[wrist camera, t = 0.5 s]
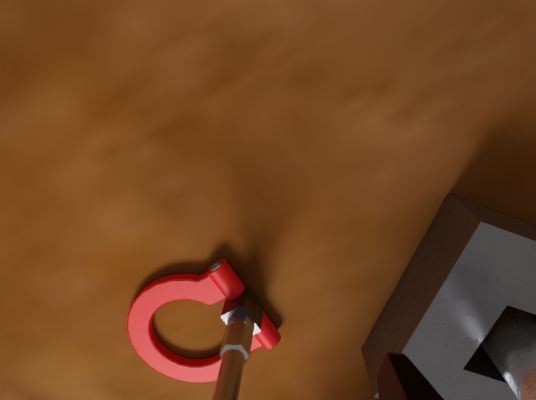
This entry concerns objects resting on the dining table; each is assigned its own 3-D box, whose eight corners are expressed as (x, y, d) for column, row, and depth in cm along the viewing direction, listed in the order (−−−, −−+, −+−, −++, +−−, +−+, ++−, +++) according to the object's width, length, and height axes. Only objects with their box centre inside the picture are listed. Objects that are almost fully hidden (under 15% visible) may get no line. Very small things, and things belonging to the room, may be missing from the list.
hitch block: (517, 398, 28) (553, 452, 25) (361, 349, 27) (374, 397, 23) (627, 258, 24) (690, 296, 20) (448, 193, 23) (480, 221, 19)
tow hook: (181, 385, 30) (289, 338, 27) (101, 621, 18) (281, 574, 15) (108, 302, 27) (220, 242, 25) (-42, 509, 15) (146, 432, 13)
